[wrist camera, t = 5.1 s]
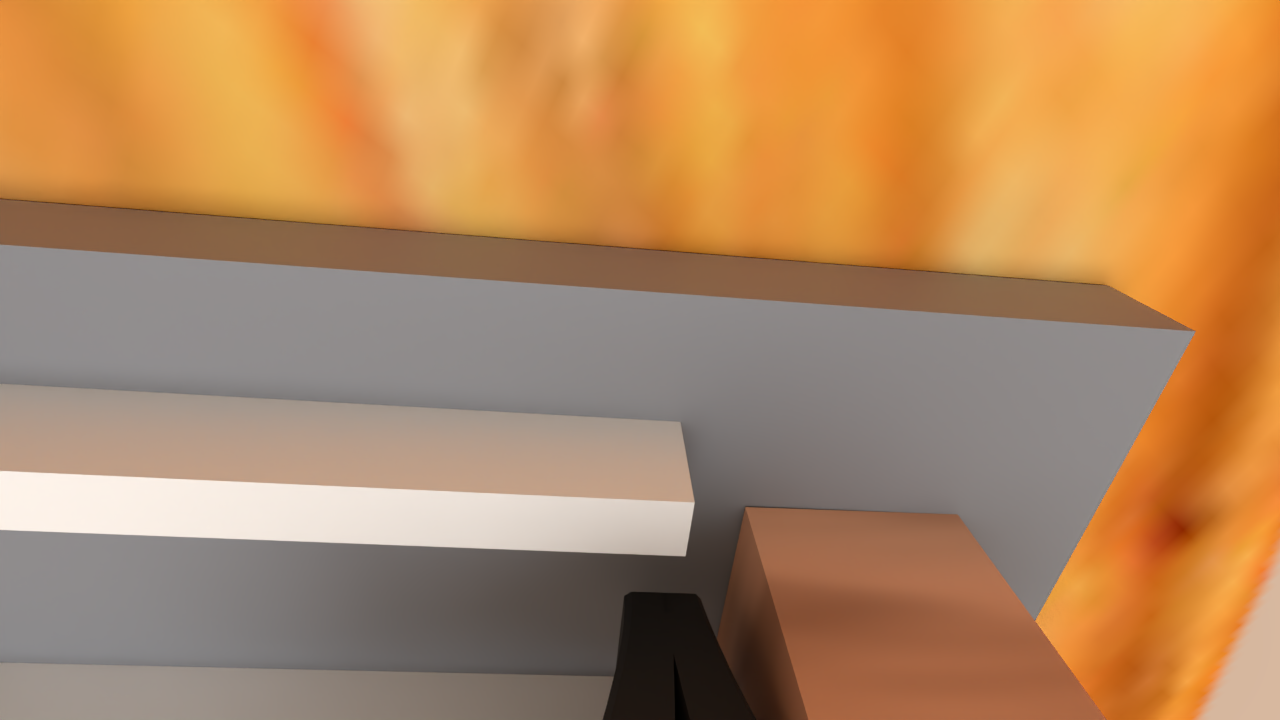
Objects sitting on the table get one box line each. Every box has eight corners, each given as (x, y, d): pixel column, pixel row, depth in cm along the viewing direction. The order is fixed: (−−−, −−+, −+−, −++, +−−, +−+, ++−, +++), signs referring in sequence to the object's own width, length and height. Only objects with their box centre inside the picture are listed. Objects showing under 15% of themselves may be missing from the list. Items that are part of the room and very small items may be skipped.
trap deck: (917, 694, 17) (952, 770, 16) (-208, 670, 15) (-316, 756, 13) (1107, 285, 12) (1195, 331, 10) (-626, 150, 10) (-907, 178, 8)
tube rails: (638, 706, 14) (642, 805, 12) (-357, 688, 12) (-518, 798, 11) (680, 421, 10) (694, 502, 9) (-696, 344, 9) (-1021, 424, 7)
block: (897, 657, 14) (1000, 881, 10) (713, 655, 13) (754, 886, 10) (957, 514, 12) (1111, 727, 8) (745, 507, 11) (810, 726, 8)
